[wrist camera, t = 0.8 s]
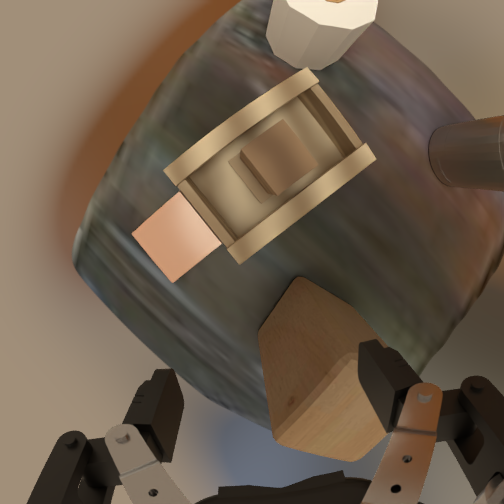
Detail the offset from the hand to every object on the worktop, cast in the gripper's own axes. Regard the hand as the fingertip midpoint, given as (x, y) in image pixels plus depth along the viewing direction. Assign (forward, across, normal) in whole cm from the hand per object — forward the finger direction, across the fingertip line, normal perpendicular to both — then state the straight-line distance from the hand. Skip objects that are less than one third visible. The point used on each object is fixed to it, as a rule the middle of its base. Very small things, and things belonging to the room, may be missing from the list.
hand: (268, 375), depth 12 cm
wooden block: (+26, -6, +11) cm, 28 cm away
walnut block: (+23, -3, -10) cm, 25 cm away
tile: (+25, +9, -3) cm, 27 cm away
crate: (+25, -3, -10) cm, 27 cm away
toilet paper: (+26, -11, -27) cm, 39 cm away
